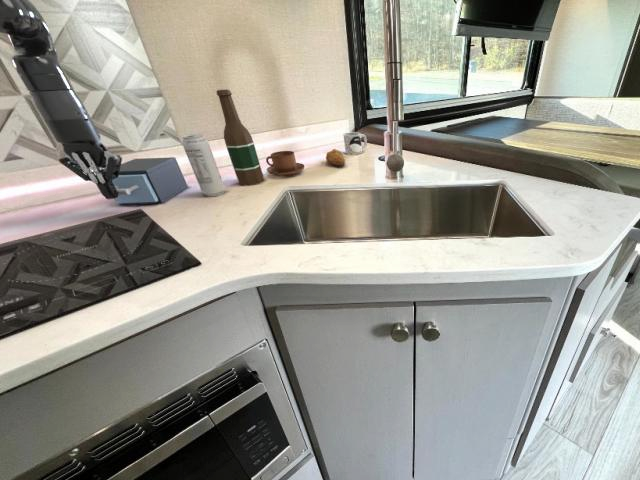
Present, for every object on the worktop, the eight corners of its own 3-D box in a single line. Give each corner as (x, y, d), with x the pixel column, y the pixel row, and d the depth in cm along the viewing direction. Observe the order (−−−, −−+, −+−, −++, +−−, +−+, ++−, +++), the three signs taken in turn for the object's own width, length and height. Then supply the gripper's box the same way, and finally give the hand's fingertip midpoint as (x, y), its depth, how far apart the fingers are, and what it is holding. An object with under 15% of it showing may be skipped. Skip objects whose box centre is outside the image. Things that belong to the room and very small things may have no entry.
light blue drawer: (144, 208, 79) (129, 181, 75) (103, 210, 79) (86, 183, 75) (181, 186, 93) (170, 162, 89) (146, 188, 93) (133, 163, 89)
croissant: (321, 161, 116) (318, 146, 113) (338, 158, 118) (336, 144, 115) (333, 169, 106) (331, 153, 103) (352, 166, 109) (350, 151, 106)
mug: (351, 155, 122) (349, 136, 118) (342, 152, 126) (340, 134, 122) (372, 150, 127) (370, 132, 123) (362, 148, 131) (361, 130, 127)
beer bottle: (241, 179, 101) (211, 89, 86) (266, 177, 102) (241, 88, 87) (235, 186, 95) (202, 91, 80) (262, 184, 96) (234, 90, 81)
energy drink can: (231, 191, 91) (210, 133, 82) (214, 198, 87) (190, 138, 78) (215, 189, 93) (194, 132, 84) (198, 195, 89) (173, 137, 80)
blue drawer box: (162, 203, 85) (145, 170, 80) (119, 205, 85) (100, 172, 80) (188, 187, 96) (175, 157, 90) (150, 188, 96) (135, 158, 90)
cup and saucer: (265, 180, 99) (260, 159, 95) (270, 170, 108) (265, 150, 105) (304, 177, 101) (300, 156, 97) (306, 167, 110) (302, 148, 106)
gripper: (18, 119, 63) (73, 204, 74) (83, 117, 63) (129, 202, 73) (51, 115, 69) (97, 194, 80) (110, 113, 69) (149, 192, 80)
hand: (112, 198), depth 77 cm, fingers closed
